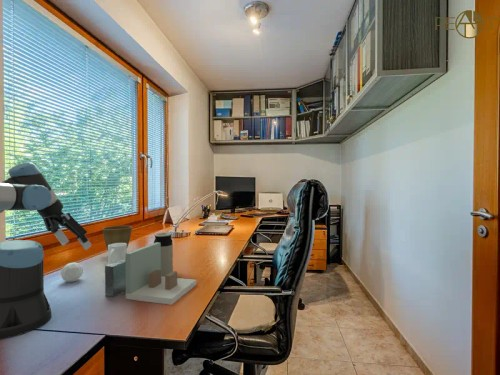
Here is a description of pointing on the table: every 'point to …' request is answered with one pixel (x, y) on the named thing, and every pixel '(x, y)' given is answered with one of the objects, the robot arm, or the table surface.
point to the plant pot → (117, 234)
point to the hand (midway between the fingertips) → (77, 245)
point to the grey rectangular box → (115, 278)
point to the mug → (116, 252)
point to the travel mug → (165, 252)
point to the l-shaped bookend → (152, 277)
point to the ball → (71, 272)
